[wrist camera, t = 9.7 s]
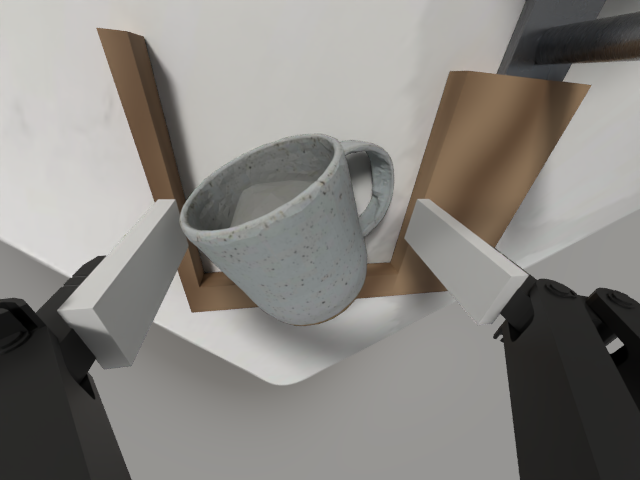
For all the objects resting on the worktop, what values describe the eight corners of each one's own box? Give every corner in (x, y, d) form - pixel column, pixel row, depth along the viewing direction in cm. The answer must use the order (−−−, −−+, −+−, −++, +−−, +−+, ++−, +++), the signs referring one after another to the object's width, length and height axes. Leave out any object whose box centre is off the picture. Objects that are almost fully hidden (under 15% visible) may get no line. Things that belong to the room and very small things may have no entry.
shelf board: (564, 84, 15) (591, 85, 13) (459, 278, 23) (470, 289, 22) (117, 33, 10) (96, 27, 9) (196, 297, 19) (191, 312, 18)
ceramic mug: (265, 266, 18) (268, 364, 12) (196, 173, 14) (143, 260, 7) (393, 212, 18) (461, 287, 12) (369, 93, 13) (466, 117, 7)
